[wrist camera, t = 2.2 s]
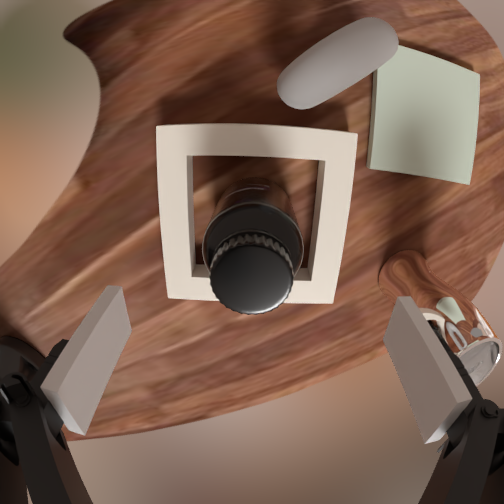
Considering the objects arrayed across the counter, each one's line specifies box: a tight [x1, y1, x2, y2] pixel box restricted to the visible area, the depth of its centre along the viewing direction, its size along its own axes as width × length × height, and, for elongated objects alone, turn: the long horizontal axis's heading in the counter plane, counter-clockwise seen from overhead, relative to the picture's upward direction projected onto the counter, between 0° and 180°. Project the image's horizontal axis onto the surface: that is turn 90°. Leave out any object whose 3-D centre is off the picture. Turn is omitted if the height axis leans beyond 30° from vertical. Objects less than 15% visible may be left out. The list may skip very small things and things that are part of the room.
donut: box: [277, 17, 399, 109], centre depth 18 cm, size 10×4×10 cm, turn 129°
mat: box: [366, 45, 480, 185], centre depth 23 cm, size 12×12×1 cm
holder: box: [156, 123, 358, 303], centre depth 27 cm, size 16×16×2 cm
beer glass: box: [379, 250, 502, 386], centre depth 24 cm, size 7×7×15 cm
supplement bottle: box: [202, 177, 304, 315], centre depth 22 cm, size 7×7×12 cm
